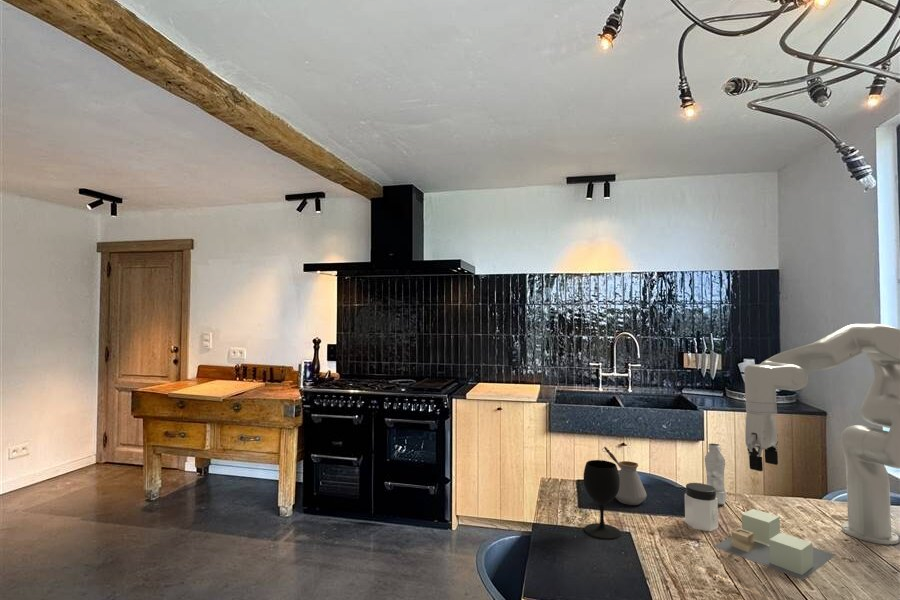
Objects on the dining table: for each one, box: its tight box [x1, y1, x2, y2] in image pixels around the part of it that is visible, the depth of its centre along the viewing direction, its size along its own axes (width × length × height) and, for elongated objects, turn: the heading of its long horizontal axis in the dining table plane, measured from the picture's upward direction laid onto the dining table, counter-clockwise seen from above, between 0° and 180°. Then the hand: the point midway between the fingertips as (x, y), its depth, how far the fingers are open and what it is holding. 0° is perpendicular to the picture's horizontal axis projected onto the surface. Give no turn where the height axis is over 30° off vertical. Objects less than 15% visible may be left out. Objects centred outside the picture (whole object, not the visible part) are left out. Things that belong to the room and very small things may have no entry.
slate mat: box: [713, 535, 837, 581], centre depth 128 cm, size 22×21×1 cm
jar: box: [684, 482, 719, 532], centre depth 144 cm, size 9×8×12 cm
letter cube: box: [730, 527, 754, 552], centre depth 130 cm, size 4×4×4 cm
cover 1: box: [741, 508, 781, 544], centre depth 136 cm, size 7×7×6 cm
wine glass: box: [583, 459, 621, 540], centre depth 141 cm, size 10×10×20 cm
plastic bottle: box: [704, 443, 728, 506], centre depth 163 cm, size 6×7×20 cm
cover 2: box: [769, 532, 813, 575], centre depth 120 cm, size 7×7×6 cm
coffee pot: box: [601, 446, 648, 506], centre depth 170 cm, size 21×12×15 cm, turn 13°
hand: (764, 466), depth 136 cm, fingers open, 9 cm apart
